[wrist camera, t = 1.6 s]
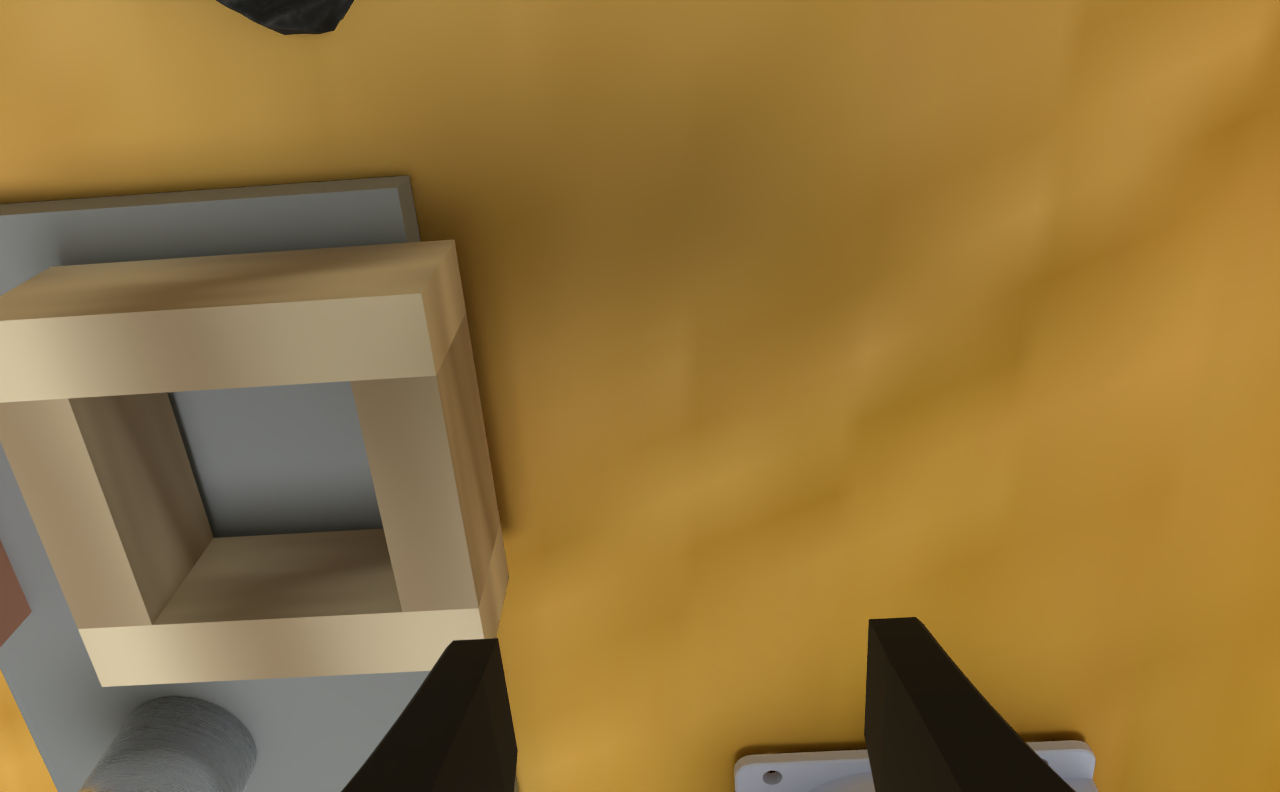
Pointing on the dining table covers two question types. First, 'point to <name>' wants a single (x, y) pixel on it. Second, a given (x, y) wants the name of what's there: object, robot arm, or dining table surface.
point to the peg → (176, 750)
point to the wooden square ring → (166, 488)
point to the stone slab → (293, 14)
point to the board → (210, 482)
